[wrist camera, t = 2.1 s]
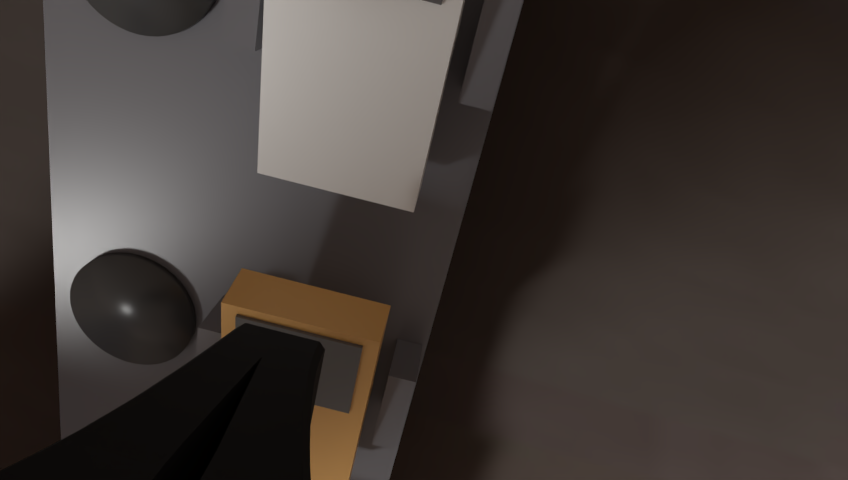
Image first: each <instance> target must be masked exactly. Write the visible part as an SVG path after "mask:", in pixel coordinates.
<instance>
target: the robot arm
mask: <svg viewBox="0 0 848 480" xmlns="http://www.w3.org/2000/svg"><path fill="white" fill-rule="evenodd" d="M324 353H325V348H324V347H323V346H322V344H321V343H320V342H319V341H315V340H311V339H308V338H304V337H300V336H296V335H292V334H288V333H284V332H280V331H276V330H272V329H268V328H264V327H260V326H256V325H252V324H248V323H244V324H242V325H240V326H239V327H237V328H236V329H234V330H233V331H231V332H230V333H228V334H227V335H226V336H224V337H223V338H222V339H220V340H219V341H217V342H216V343H215V344H213V345H212V346H210V347H209V348H208V349H206V350H205V351H203V352H202V353H200V354H199V355H198V356H196V357H195V358H193V359H192V360H190V361H189V362H187V363H186V364H185V365H183V366H182V367H180V368H179V369H177V370H176V371H174V372H173V373H171V374H170V375H168V376H166V377H165V378H163V379H162V380H160V381H159V382H157V383H156V384H154V385H153V386H151V387H150V388H148V389H147V390H145V391H144V392H142V393H140V394H139V395H137V396H136V397H134V398H132V399H131V400H129V401H128V402H126V403H124V404H122V405H121V406H119V407H117V408H116V409H114V410H112V411H111V412H109V413H107V414H105V415H104V416H102V417H100V418H99V419H97V420H95V421H94V422H92V423H90V424H88V425H87V426H85V427H83V428H82V429H80V430H78V431H76V432H75V433H73V434H71V435H69V436H67V437H65V438H64V439H62V440H60V441H58V442H56V443H54V444H52V445H51V446H49V447H47V448H45V449H43V450H41V451H39V452H37V453H35V454H33V455H31V456H29V457H27V458H25V459H23V460H21V461H19V462H17V463H15V464H13V465H11V466H9V467H7V468H5V469H3V470H1V471H0V480H311V472H310V426H311V420H312V415H313V410H314V405H315V400H316V394H317V389H318V384H319V379H320V374H321V368H322V363H323V358H324Z"/></svg>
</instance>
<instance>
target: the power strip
mask: <svg viewBox="0 0 848 480" xmlns="http://www.w3.org/2000/svg"><path fill="white" fill-rule="evenodd" d="M523 2H524V0H465V3H464V8H463V12H462V18H461V23H460V27H459V31H458V36H457V40H456V44H455V48H454V51H453V55H452V58H451V63H450V67H449V71H448V75H447V79H446V84H445V88H444V92H443V96H442V101H441V105H440V109H439V113H438V117H437V122H436V126H435V130H434V134H433V139H432V143H431V147H430V151H429V155H428V160H427V164H426V168H425V172H424V177H423V181H422V185H421V188H420V192H419V195H418V199H417V202H416V206H415V209H414V212H410V211H406V210H402V209H398V208H394V207H390V206H386V205H382V204H378V203H374V202H370V201H366V200H362V199H358V198H354V197H350V196H346V195H343V194H339V193H335V192H331V191H327V190H323V189H319V188H315V187H311V186H307V185H303V184H299V183H295V182H291V181H287V180H283V179H279V178H275V177H271V176H267V175H263V174H259V173H257V166H258V140H259V114H260V89H261V63H262V38H263V12H264V0H43V10H44V34H45V59H46V84H47V108H48V133H49V157H50V182H51V206H52V231H53V256H54V280H55V305H56V329H57V354H58V378H59V403H60V428H61V440H62V439H64V438H65V437H67V436H69V435H71V434H73V433H75V432H76V431H78V430H80V429H82V428H83V427H85V426H87V425H88V424H90V423H92V422H94V421H95V420H97V419H99V418H100V417H102V416H104V415H105V414H107V413H109V412H111V411H112V410H114V409H116V408H117V407H119V406H121V405H122V404H124V403H126V402H128V401H129V400H131V399H132V398H134V397H136V396H137V395H139V394H140V393H142V392H144V391H145V390H147V389H148V388H150V387H151V386H153V385H154V384H156V383H157V382H159V381H160V380H162V379H163V378H165V377H166V376H168V375H170V374H171V373H173V372H174V371H176V370H177V369H179V368H180V367H182V366H183V365H185V364H186V363H187V362H189V361H190V360H192V359H193V358H195V357H196V356H198V355H199V354H200V353H202V352H203V351H205V350H206V349H208V348H209V347H210V346H212V345H213V344H215V343H216V342H217V341H219V340H220V339H221V302H222V300H223V298H224V297H225V295H226V293H227V292H228V290H229V289H230V287H231V285H232V284H233V282H234V280H235V279H236V277H237V275H238V274H239V272H240V270H241V269H242V268H244V269H248V270H251V271H255V272H259V273H263V274H267V275H271V276H275V277H279V278H283V279H287V280H291V281H295V282H299V283H303V284H307V285H311V286H315V287H319V288H323V289H327V290H331V291H335V292H339V293H343V294H347V295H351V296H355V297H359V298H363V299H367V300H371V301H375V302H379V303H383V304H386V305H390V306H391V307H390V311H389V316H388V320H387V324H386V328H385V333H384V337H383V341H382V345H381V350H380V354H379V358H378V363H377V367H376V371H375V375H374V382H373V386H372V390H371V394H370V398H369V402H368V406H367V410H366V414H365V418H364V422H363V427H362V431H361V435H360V440H359V444H358V448H357V452H356V457H355V461H354V465H353V470H352V474H351V477H350V480H389V479H390V475H391V472H392V468H393V465H394V461H395V457H396V454H397V450H398V447H399V443H400V440H401V436H402V433H403V429H404V425H405V422H406V418H407V415H408V411H409V408H410V404H411V401H412V397H413V393H414V390H415V386H416V383H417V379H418V376H419V372H420V369H421V365H422V361H423V358H424V354H425V351H426V347H427V344H428V340H429V337H430V333H431V329H432V326H433V322H434V319H435V315H436V312H437V308H438V304H439V301H440V297H441V294H442V290H443V287H444V283H445V280H446V276H447V272H448V269H449V265H450V262H451V258H452V255H453V251H454V248H455V244H456V240H457V237H458V233H459V230H460V226H461V223H462V219H463V216H464V212H465V208H466V205H467V201H468V198H469V194H470V191H471V187H472V184H473V180H474V176H475V173H476V169H477V166H478V162H479V159H480V155H481V152H482V148H483V144H484V141H485V137H486V134H487V130H488V127H489V123H490V119H491V116H492V112H493V109H494V105H495V102H496V98H497V95H498V91H499V87H500V84H501V80H502V77H503V73H504V70H505V66H506V63H507V59H508V55H509V52H510V48H511V45H512V41H513V38H514V34H515V31H516V27H517V23H518V20H519V16H520V13H521V9H522V6H523Z"/></svg>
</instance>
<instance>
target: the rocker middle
mask: <svg viewBox="0 0 848 480" xmlns="http://www.w3.org/2000/svg"><path fill="white" fill-rule="evenodd" d="M390 307H391V306H390V305H386V304H383V303H379V302H375V301H371V300H367V299H363V298H359V297H355V296H351V295H347V294H343V293H339V292H335V291H331V290H327V289H323V288H319V287H315V286H311V285H307V284H303V283H299V282H295V281H291V280H287V279H283V278H279V277H275V276H271V275H267V274H263V273H259V272H255V271H251V270H248V269H244V268H242V269H241V270H240V272H239V274H238V275H237V277H236V279H235V280H234V282H233V284H232V285H231V287H230V289H229V290H228V292H227V293H226V295H225V297H224V298H223V300H222V302H221V339H222V338H223V337H224V336H226V335H227V334H228V333H230V332H231V331H233V330H234V329H236V328H237V327H239V326H240V325H242V324H244V323H248V324H252V325H256V326H260V327H264V328H268V329H272V330H276V331H280V332H284V333H288V334H292V335H296V336H300V337H304V338H308V339H311V340H315V341H319V342H320V343H321V344H322V346H323V347H324V348H325V353H324V358H323V363H322V368H321V374H320V379H319V384H318V389H317V394H316V400H315V405H314V410H313V415H312V420H311V426H310V472H311V480H350V477H351V474H352V470H353V465H354V461H355V457H356V452H357V448H358V444H359V440H360V435H361V431H362V427H363V422H364V418H365V414H366V410H367V406H368V402H369V398H370V394H371V390H372V386H373V382H374V375H375V371H376V367H377V363H378V358H379V354H380V350H381V345H382V341H383V337H384V333H385V328H386V324H387V320H388V316H389V311H390Z"/></svg>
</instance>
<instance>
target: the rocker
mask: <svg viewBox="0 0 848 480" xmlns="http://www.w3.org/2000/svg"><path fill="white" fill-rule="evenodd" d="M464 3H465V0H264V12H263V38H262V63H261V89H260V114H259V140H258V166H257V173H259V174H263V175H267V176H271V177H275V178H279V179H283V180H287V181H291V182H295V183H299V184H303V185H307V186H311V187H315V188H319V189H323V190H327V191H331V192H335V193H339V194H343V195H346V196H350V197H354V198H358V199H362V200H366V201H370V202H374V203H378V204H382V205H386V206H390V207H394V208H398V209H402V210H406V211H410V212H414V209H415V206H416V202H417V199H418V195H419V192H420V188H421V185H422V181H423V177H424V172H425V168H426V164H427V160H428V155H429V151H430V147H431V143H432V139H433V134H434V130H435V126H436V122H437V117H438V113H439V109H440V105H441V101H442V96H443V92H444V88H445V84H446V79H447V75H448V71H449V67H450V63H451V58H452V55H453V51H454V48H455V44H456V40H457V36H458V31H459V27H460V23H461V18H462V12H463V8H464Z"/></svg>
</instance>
